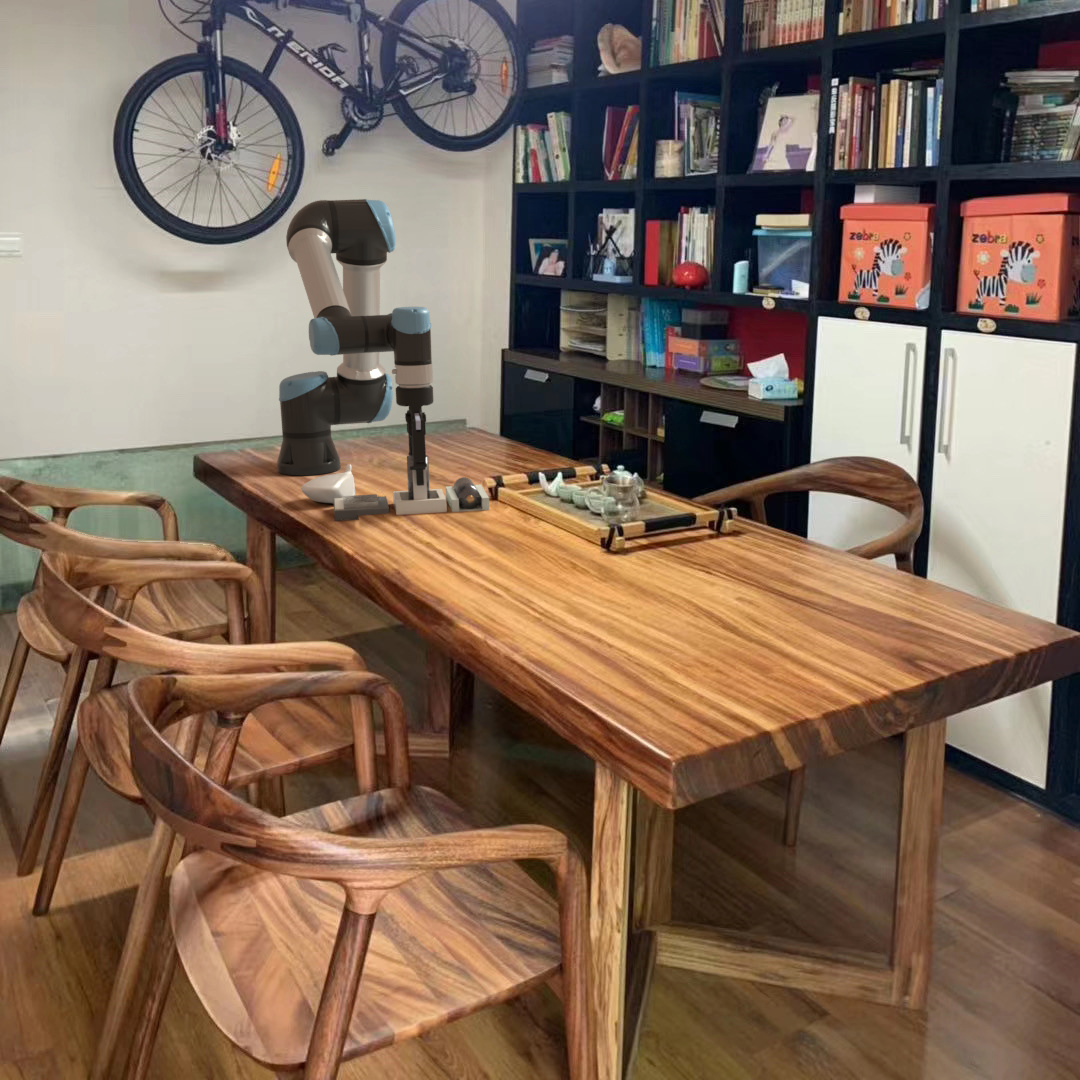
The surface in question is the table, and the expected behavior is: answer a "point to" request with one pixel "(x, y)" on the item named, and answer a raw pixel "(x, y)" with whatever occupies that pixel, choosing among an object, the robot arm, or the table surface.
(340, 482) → the white rounded lump
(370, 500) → the plate
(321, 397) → the robot arm
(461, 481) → the cell
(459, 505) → the trough
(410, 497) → the cell
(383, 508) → the grey square base pad
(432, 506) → the white square tray
